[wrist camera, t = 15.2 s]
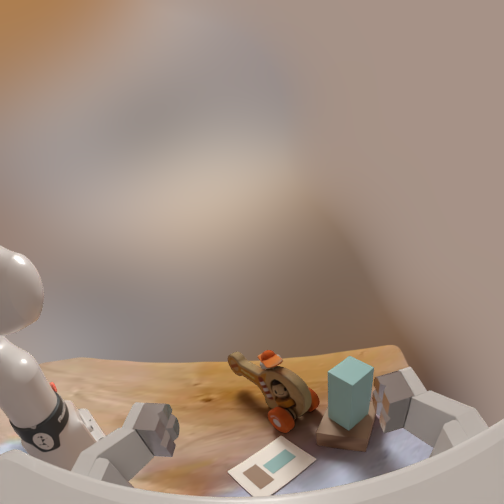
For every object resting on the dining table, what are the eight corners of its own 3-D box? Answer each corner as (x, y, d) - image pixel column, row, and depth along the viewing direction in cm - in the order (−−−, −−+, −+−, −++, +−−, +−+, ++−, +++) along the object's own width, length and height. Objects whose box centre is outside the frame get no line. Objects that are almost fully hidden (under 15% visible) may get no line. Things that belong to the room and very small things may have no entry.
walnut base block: (316, 446, 37) (315, 432, 36) (331, 412, 43) (331, 397, 42) (365, 452, 33) (367, 439, 32) (375, 416, 39) (377, 401, 38)
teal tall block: (328, 417, 38) (327, 371, 35) (347, 401, 40) (349, 355, 38) (348, 430, 34) (352, 385, 32) (368, 413, 37) (373, 367, 34)
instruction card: (227, 472, 34) (227, 471, 34) (281, 436, 40) (281, 435, 40) (260, 502, 28) (259, 502, 28) (316, 459, 34) (316, 458, 34)
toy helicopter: (293, 440, 39) (283, 383, 35) (221, 390, 55) (203, 336, 51) (325, 412, 43) (322, 353, 40) (251, 371, 59) (238, 318, 56)
